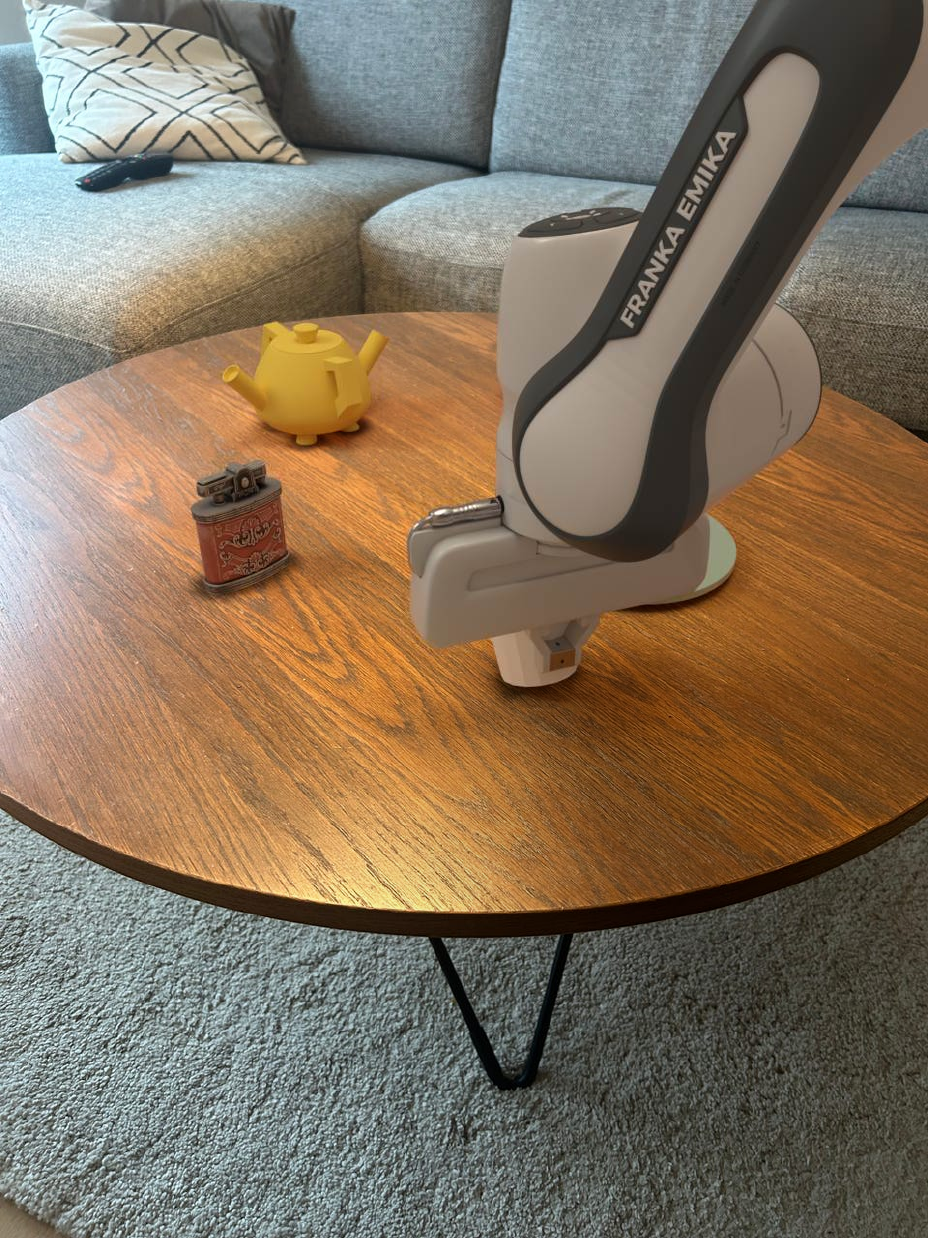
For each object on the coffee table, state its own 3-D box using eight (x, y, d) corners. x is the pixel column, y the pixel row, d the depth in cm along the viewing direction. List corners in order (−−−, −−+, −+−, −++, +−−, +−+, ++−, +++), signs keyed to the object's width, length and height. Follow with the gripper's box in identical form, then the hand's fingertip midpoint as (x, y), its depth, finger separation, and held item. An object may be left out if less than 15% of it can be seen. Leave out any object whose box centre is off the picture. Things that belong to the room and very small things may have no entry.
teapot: (276, 480, 99) (263, 372, 93) (194, 423, 111) (177, 323, 105) (436, 428, 110) (434, 327, 103) (346, 380, 121) (339, 287, 115)
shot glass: (598, 651, 75) (586, 562, 72) (568, 692, 69) (554, 596, 66) (513, 650, 78) (499, 564, 75) (477, 689, 72) (461, 597, 70)
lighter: (275, 549, 89) (262, 445, 83) (298, 563, 87) (286, 458, 81) (196, 584, 84) (176, 476, 78) (218, 600, 82) (200, 490, 76)
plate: (776, 589, 84) (779, 574, 83) (579, 631, 79) (580, 615, 78) (669, 493, 97) (671, 479, 97) (496, 523, 93) (496, 509, 92)
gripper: (422, 539, 57) (428, 726, 65) (735, 480, 62) (706, 659, 70) (390, 491, 62) (400, 670, 69) (683, 441, 67) (661, 612, 75)
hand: (556, 664), depth 70 cm, fingers closed, pressing on shot glass
